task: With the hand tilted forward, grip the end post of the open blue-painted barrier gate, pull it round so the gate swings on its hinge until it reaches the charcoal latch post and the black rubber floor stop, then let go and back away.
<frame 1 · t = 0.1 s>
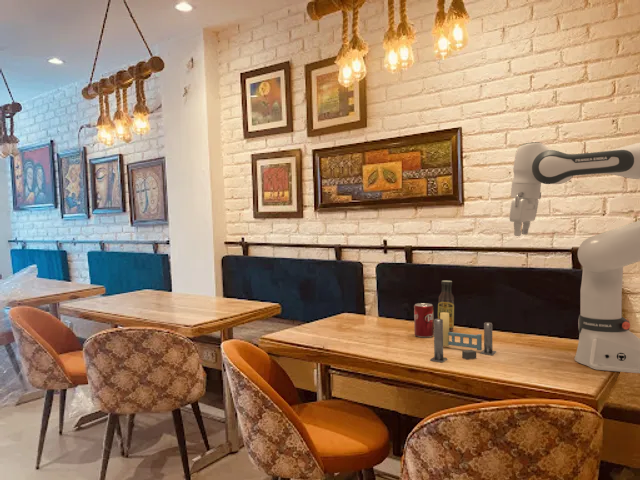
hand: (521, 235, 169), 39 cm above the table, tool pointing down, fingers open, 8 cm apart
hinge post: (488, 353, 170), on the table
soda can: (424, 336, 196), on the table
latch post: (438, 360, 164), on the table
gate: (460, 331, 175), point 6 cm above the table, hinge at 0.0°
floor stop: (469, 357, 165), on the table
sauce bottle: (446, 331, 204), on the table
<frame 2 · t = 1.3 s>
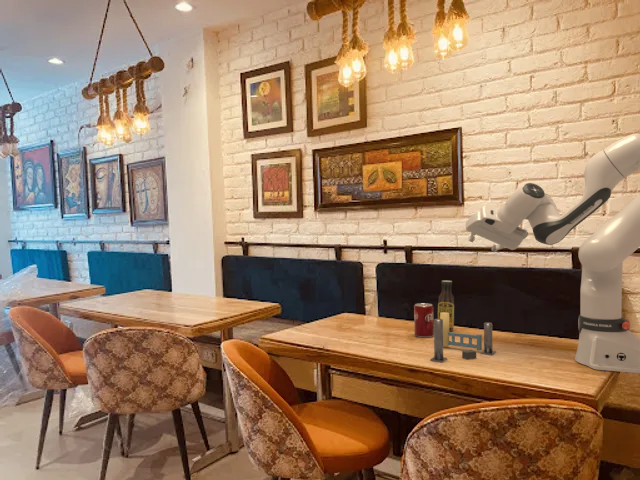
hand: (481, 245, 187), 35 cm above the table, tool tilted 50°, fingers open, 8 cm apart
nothing on the table moved.
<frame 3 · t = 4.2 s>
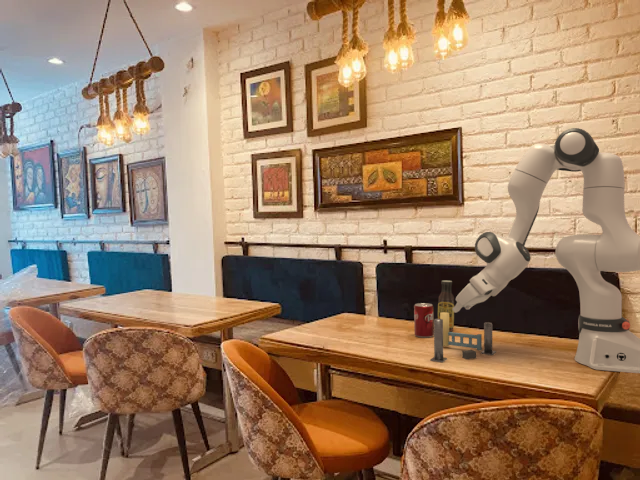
hand: (460, 309, 176), 14 cm above the table, tool tilted 45°, fingers open, 8 cm apart
nothing on the table moved.
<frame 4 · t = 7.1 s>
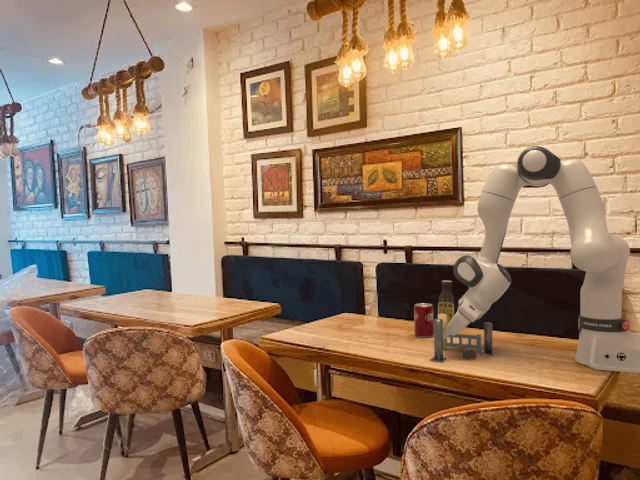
hand: (445, 334, 175), 5 cm above the table, tool tilted 40°, fingers open, 4 cm apart
gate: (459, 332, 174), point 6 cm above the table, hinge at 10.3°, touching gripper
everything else where it was.
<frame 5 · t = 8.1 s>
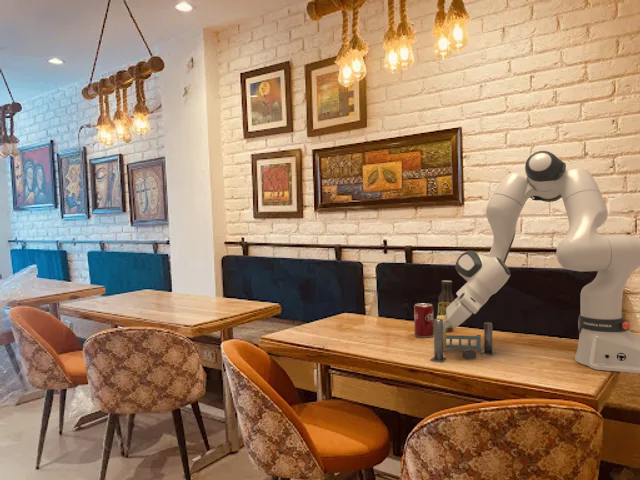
hand: (440, 327, 173), 8 cm above the table, tool tilted 45°, fingers open, 3 cm apart
gate: (458, 333, 172), point 6 cm above the table, hinge at 21.5°, touching gripper
everything else where it was.
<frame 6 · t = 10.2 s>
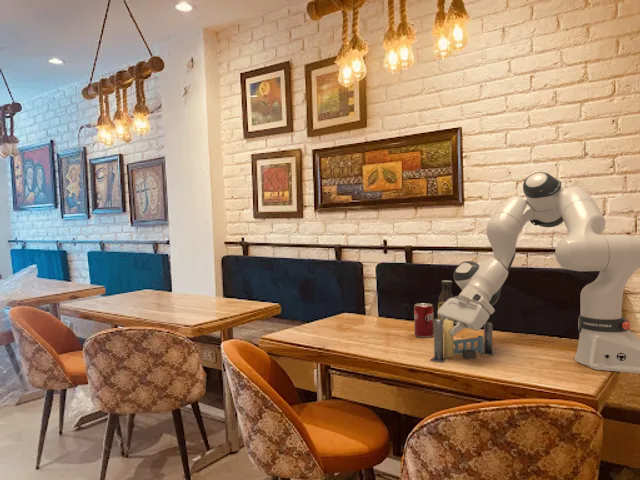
hand: (446, 332, 165), 8 cm above the table, tool tilted 45°, fingers closed on gate, 3 cm apart
gate: (463, 337, 167), point 6 cm above the table, hinge at 53.2°, touching gripper
everything else where it was.
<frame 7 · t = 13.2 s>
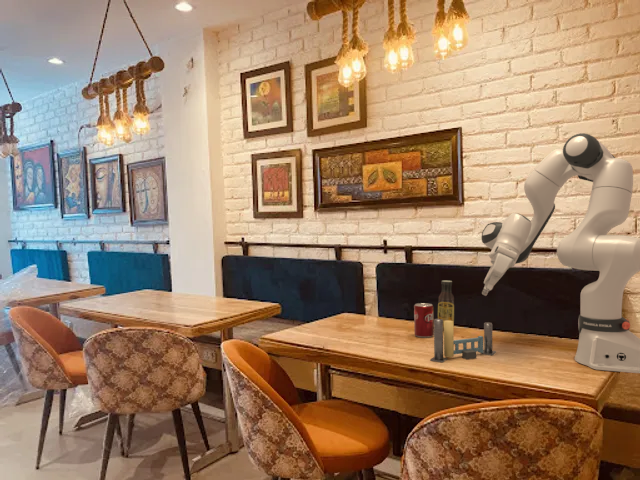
hand: (486, 292, 173), 20 cm above the table, tool tilted 35°, fingers open, 8 cm apart
gate: (463, 337, 167), point 6 cm above the table, hinge at 53.5°
everything else where it was.
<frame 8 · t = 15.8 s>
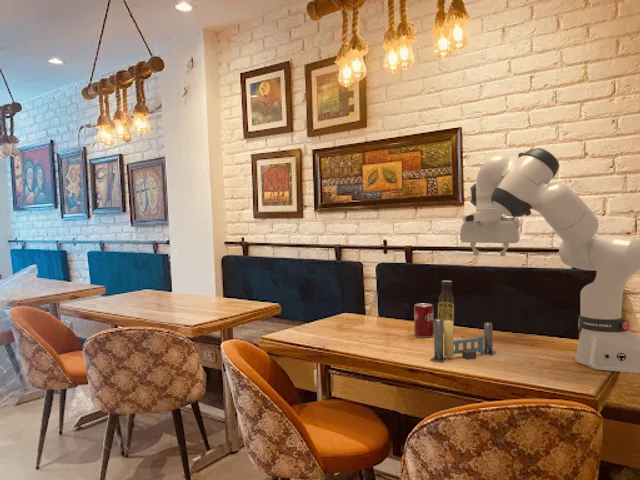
hand: (489, 255, 183), 31 cm above the table, tool pointing down, fingers open, 8 cm apart
nothing on the table moved.
at the end: gate at +54° (first picture: +0°); the gripper is holding nothing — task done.
